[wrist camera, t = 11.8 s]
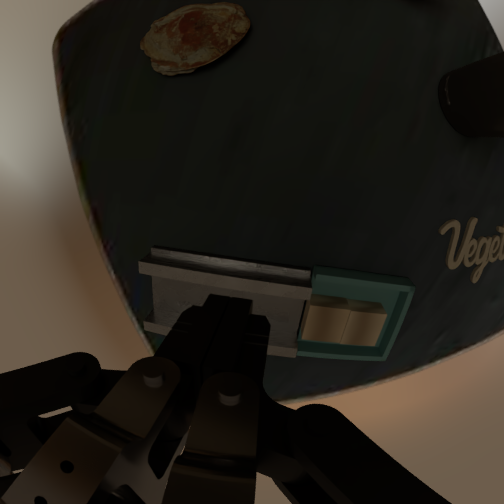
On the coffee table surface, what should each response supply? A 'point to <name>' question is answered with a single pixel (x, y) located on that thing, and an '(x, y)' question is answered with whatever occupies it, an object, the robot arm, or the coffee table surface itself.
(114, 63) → the coffee table surface
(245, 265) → the slot rail
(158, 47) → the stone
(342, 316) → the beige square block
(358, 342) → the chip
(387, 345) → the tray
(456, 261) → the decorative sign
